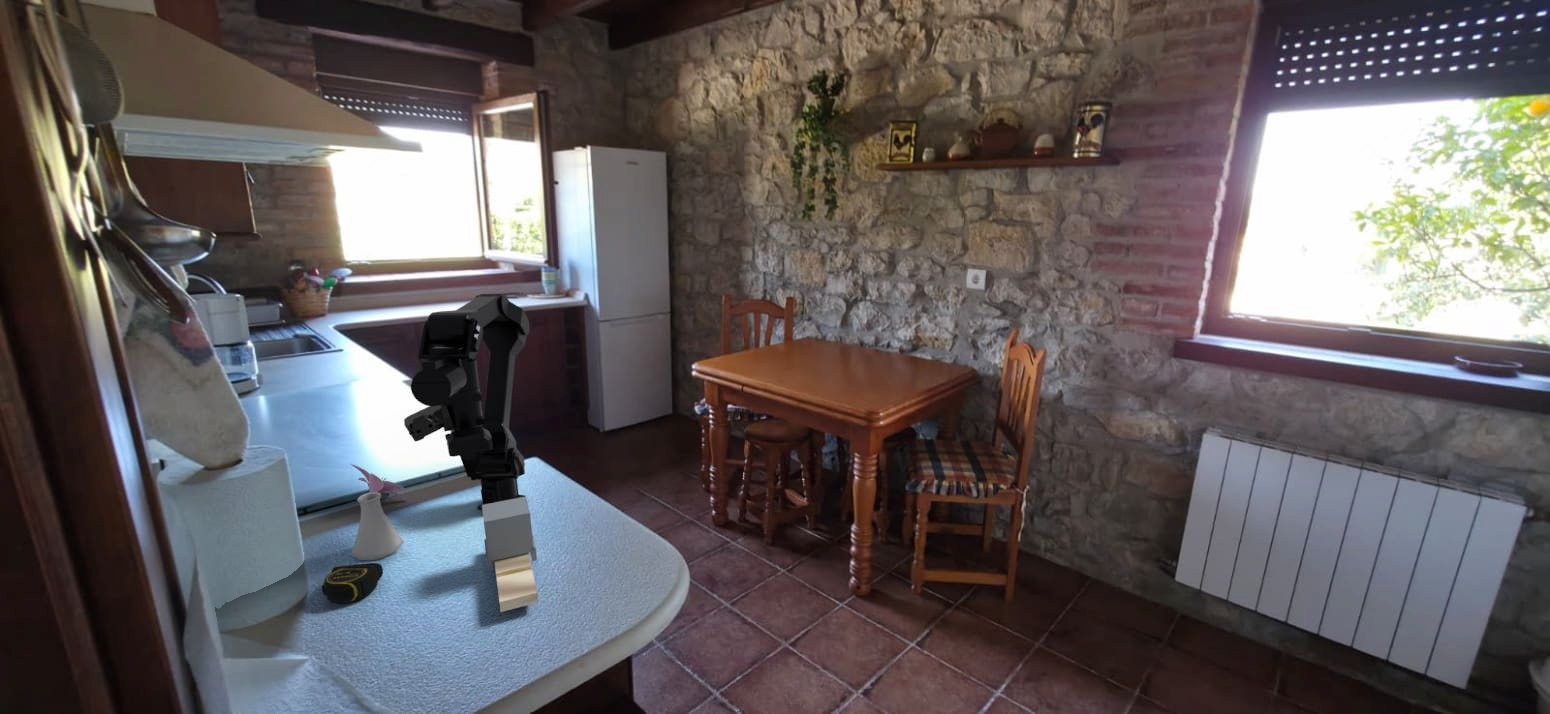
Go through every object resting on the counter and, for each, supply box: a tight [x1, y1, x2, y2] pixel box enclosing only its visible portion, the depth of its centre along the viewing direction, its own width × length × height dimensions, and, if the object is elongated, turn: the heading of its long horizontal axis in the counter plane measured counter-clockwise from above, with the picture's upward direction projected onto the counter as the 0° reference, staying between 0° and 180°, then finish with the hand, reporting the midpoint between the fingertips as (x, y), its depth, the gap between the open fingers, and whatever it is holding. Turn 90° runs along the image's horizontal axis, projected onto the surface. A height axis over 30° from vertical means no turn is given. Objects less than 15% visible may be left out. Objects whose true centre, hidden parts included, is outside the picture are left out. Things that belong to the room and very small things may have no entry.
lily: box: [350, 463, 407, 502], centre depth 121 cm, size 11×11×9 cm
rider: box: [481, 496, 538, 572], centre depth 101 cm, size 6×7×8 cm
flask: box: [350, 491, 405, 561], centre depth 106 cm, size 7×7×10 cm
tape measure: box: [321, 562, 384, 604], centre depth 95 cm, size 7×7×4 cm
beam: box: [493, 552, 539, 613], centre depth 99 cm, size 20×5×3 cm, turn 26°
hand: (471, 476), depth 108 cm, fingers closed
